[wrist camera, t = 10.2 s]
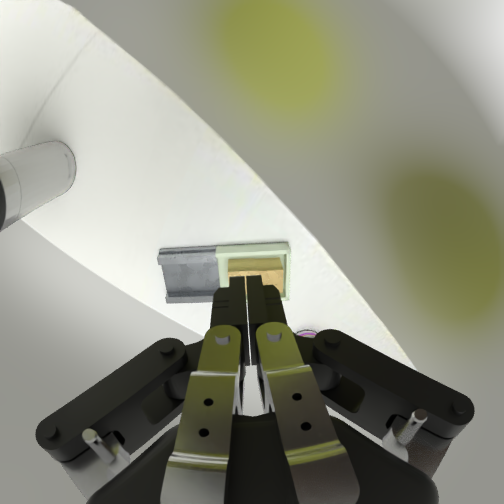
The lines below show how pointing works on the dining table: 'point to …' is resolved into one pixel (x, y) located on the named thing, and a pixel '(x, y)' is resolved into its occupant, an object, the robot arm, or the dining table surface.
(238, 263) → the brass block
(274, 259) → the brass block
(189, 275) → the slot rail
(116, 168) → the dining table surface
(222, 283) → the tray
